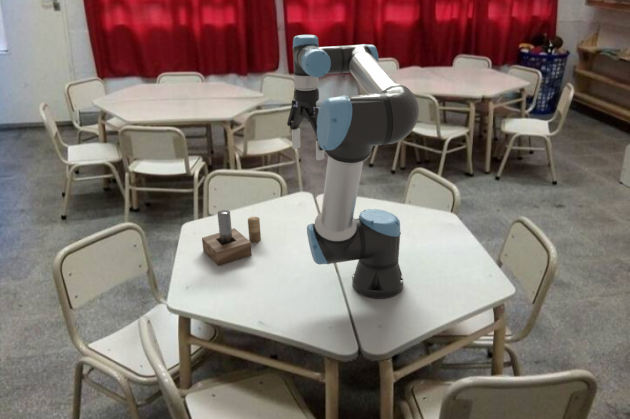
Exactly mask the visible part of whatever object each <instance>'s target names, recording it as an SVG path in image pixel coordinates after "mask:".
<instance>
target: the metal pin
mask: <svg viewBox="0 0 630 419" xmlns="http://www.w3.org/2000/svg"><path fill="white" fill-rule="evenodd" d="M217 222H218V230H219V232H218V233H219V234H220V244H221V245H225V244H228V243H231V242H233V240H232V229H233V228H232V218H231V211H230V210H228V209H221V210H219V211H217Z"/></svg>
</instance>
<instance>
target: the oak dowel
mask: <svg viewBox="0 0 630 419" xmlns="http://www.w3.org/2000/svg"><path fill="white" fill-rule="evenodd" d="M247 227H248V240H249V241H250V242H251V243H253V244H255V243H259V242H260V241H261V240H262V236H261V223H260V217H258V216H249V218H247Z"/></svg>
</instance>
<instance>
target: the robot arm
mask: <svg viewBox="0 0 630 419" xmlns="http://www.w3.org/2000/svg"><path fill="white" fill-rule="evenodd" d="M292 56H293V87H294V99H292V100H291V108H290V111H289V115H288V119H287V123H286V124H287V126H288V127H290V130H291V140H292V141H291V144H292V145H291V147H292V150H297V149H300V148H301V127H300V125H301V123H302V121H303V119H304V118H305V119H307V121H308V122H309V123H310V125H311V127H312V129H313V131H314V134H315V136H316V139H315V160H316V161H321V160H325V158H326V157H325V155H326V156H327V163H326V171H325V181H324V188H323V189H324V190H323V197H322V203H321V204H322V205H321V212H320V213H319V214H317V215H316V217H315V220H314V223H310V224H308V225H307V226H306V233H307V239H308V240H307V241H308V245H309V249H310V253H311V257H312V260H313V262H314V263H315V264H317V265H331V264H337V263H343V262H344V263H345V262H350V261H357V260H358V262H357V264H356V266H355V271H354V272H353V274H352V282H351V284H352V288H353V289H354V291H355V292H357V293H358V294H360V295H362V296H365V297H367V298H372V299H388V298H392V297H394V296H397V295H398V294H400V293H401V292H402V290H403V288H404V277H403V273H402V270H401V267H400V263H399V257H400V244H401V243H400V242H401V234H402V233H401V222H400V219H399V218H398V216H396V215H395V214H394V213H392V212H389V211H387V210H383V209H378V208H367V209H363V210H362V211H360V213H359V214H358V218H355V217H354V213H355V209H356V205H357V204H356V202H357V198H358V193H359V192H358V191H359V186H360V182H361V175H362V169H363V165H364V162H365V161H366V160H368V159H369V158H370V156H371V155H372V150H373V147H374V146H381V145H382V146H383V145H393V144H396V143H398V142H400V141H402V140H404V139H405V138H407V136H409V135H410V134H411V133H412V131H413V130H414V128H415V127H416V125H417V123H418V120H419V114H420V106H419V102H418V100H417V97H416V96H415V94H414V93H413V92H412V90H411V89H409V87H407V86H406V85H403V84H401V83H400V84H399V83H398V82H397V81H396V80H395V78H393V77H392V76H391V75H390V73H389V72H388V71H387V70H386V69H385V68H384V67H383V66H382V65H381V64H380V63H379V53H378V49H377V47H376V46H375V45H374V44H365V43H362V44H351V45H336V46H335V45H334V46H320V44H319V38H318V36H317V35H314V34H300V35H299V34H298V35H295V36H294V37H293V40H292ZM345 73H346V74H348V73H349V74H351V75H352V76H353V77H354V79H355V80H356V82H357V83H358V84H359V85H360V87H361V88H362V89H363V91H364V93H365V94H359V95H358V94H357V95H346V94H345V95H344V94H343V95H342V94H341V95H339V96H333V97H328V98H325V100H324V101H322V103H321V105H320V106H317V102H318V101H319V100H320V89H319V86H320V85H319V82H320V81H319V78H322V77H324V76H325V75H331V74H332V75H333V74H345Z"/></svg>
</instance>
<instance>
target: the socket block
mask: <svg viewBox="0 0 630 419" xmlns="http://www.w3.org/2000/svg"><path fill="white" fill-rule="evenodd" d="M231 229H232V240H233V242H231V243H228V244H225V245H221V244H220V234H219V232H218V233H214V234H209V235H207V236H204V237H201V242H202V251H203V252H204V253H205V254H206V256H208V257H209V258H210V259H211V260H212V262H213V263H215V264H216V266H218V267H220V266H223V265H227V264H230V263H233V262H235V261H238V260H239V261H240V260H241V259H246V258H248V257H251V256H252V252H253V251H252V242H250V241H249V238H247V237H245V236H244V235H243V234H242V233H241V232H240V231H238V230H237V229H236V228H231Z"/></svg>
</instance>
